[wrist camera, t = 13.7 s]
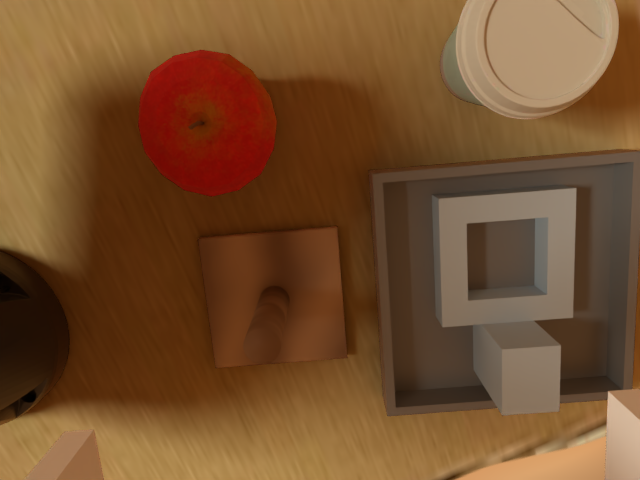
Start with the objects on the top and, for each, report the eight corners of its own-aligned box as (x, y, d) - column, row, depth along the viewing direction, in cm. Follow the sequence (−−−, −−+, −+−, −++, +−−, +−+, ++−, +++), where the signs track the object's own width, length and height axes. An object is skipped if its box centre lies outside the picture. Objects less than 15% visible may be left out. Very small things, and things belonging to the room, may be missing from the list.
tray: (383, 396, 44) (387, 416, 41) (368, 170, 40) (372, 173, 37) (610, 379, 44) (631, 398, 41) (619, 149, 40) (643, 151, 37)
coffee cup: (547, 100, 39) (644, 88, 27) (438, 136, 40) (488, 139, 28) (520, -16, 37) (612, -82, 26) (407, 23, 38) (446, -23, 26)
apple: (297, 168, 40) (286, 184, 29) (193, 192, 41) (141, 217, 29) (270, 54, 38) (247, 23, 27) (162, 81, 39) (94, 61, 27)
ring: (437, 372, 43) (459, 418, 36) (431, 194, 40) (454, 208, 33) (557, 363, 43) (602, 408, 36) (561, 184, 40) (611, 196, 33)
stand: (217, 363, 44) (188, 430, 34) (200, 237, 41) (163, 270, 32) (346, 353, 43) (354, 417, 34) (336, 226, 41) (341, 256, 32)
